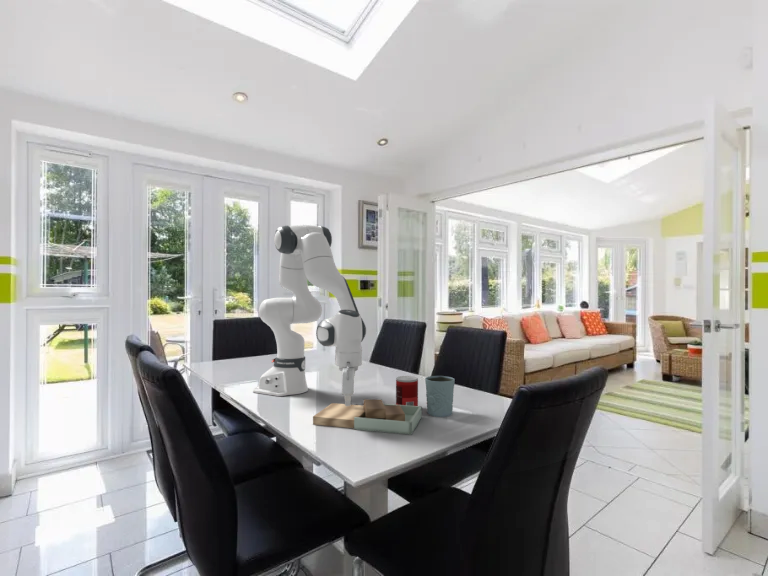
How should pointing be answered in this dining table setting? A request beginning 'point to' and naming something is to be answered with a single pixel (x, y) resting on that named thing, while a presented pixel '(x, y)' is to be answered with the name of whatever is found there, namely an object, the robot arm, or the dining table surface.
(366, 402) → the tile
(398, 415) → the tile
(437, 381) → the teal plant pot
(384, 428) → the tray
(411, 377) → the canned food
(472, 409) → the dining table surface
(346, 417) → the board
